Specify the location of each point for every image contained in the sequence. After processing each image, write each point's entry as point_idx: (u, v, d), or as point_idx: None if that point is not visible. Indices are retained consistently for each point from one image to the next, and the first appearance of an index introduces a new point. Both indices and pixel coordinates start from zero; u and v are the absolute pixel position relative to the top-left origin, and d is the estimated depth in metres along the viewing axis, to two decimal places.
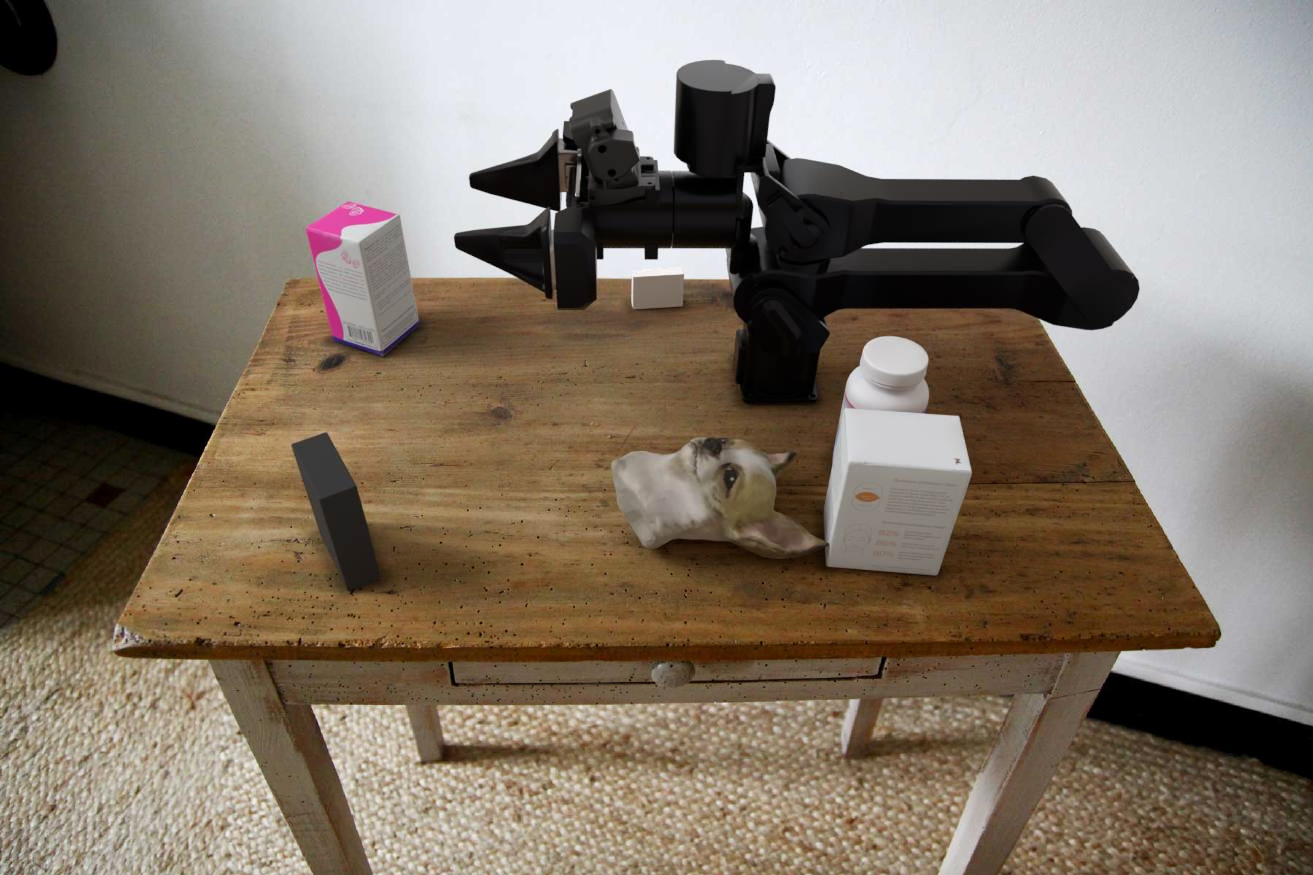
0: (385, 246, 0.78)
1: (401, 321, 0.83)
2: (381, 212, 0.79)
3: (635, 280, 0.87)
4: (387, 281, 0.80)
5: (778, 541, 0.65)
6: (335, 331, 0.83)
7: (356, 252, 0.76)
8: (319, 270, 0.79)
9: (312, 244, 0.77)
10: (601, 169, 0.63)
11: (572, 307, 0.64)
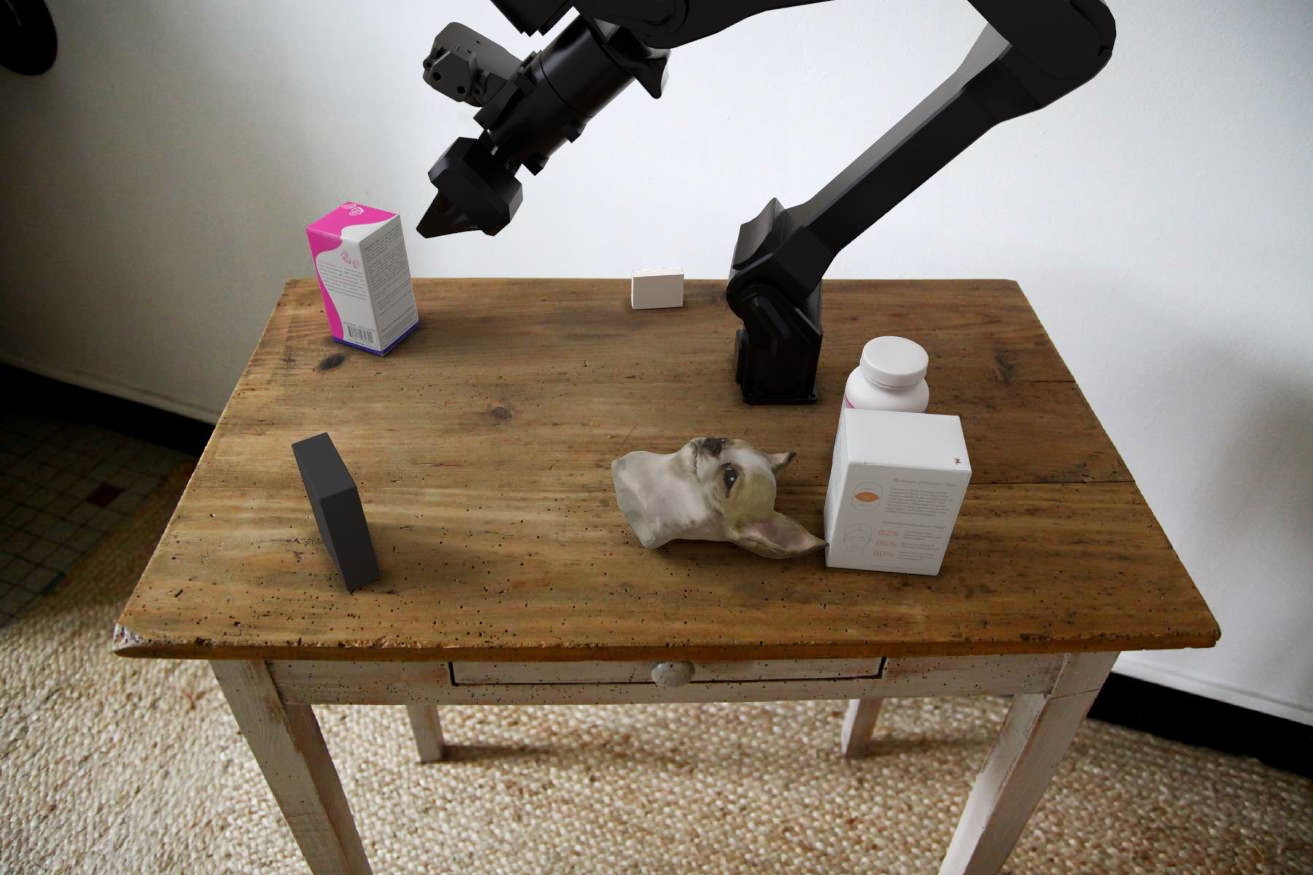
0: (385, 246, 0.78)
1: (401, 321, 0.83)
2: (381, 212, 0.79)
3: (635, 280, 0.87)
4: (387, 281, 0.80)
5: (778, 541, 0.65)
6: (335, 331, 0.83)
7: (356, 252, 0.76)
8: (319, 270, 0.79)
9: (312, 244, 0.77)
10: (451, 93, 0.64)
11: (495, 226, 0.65)
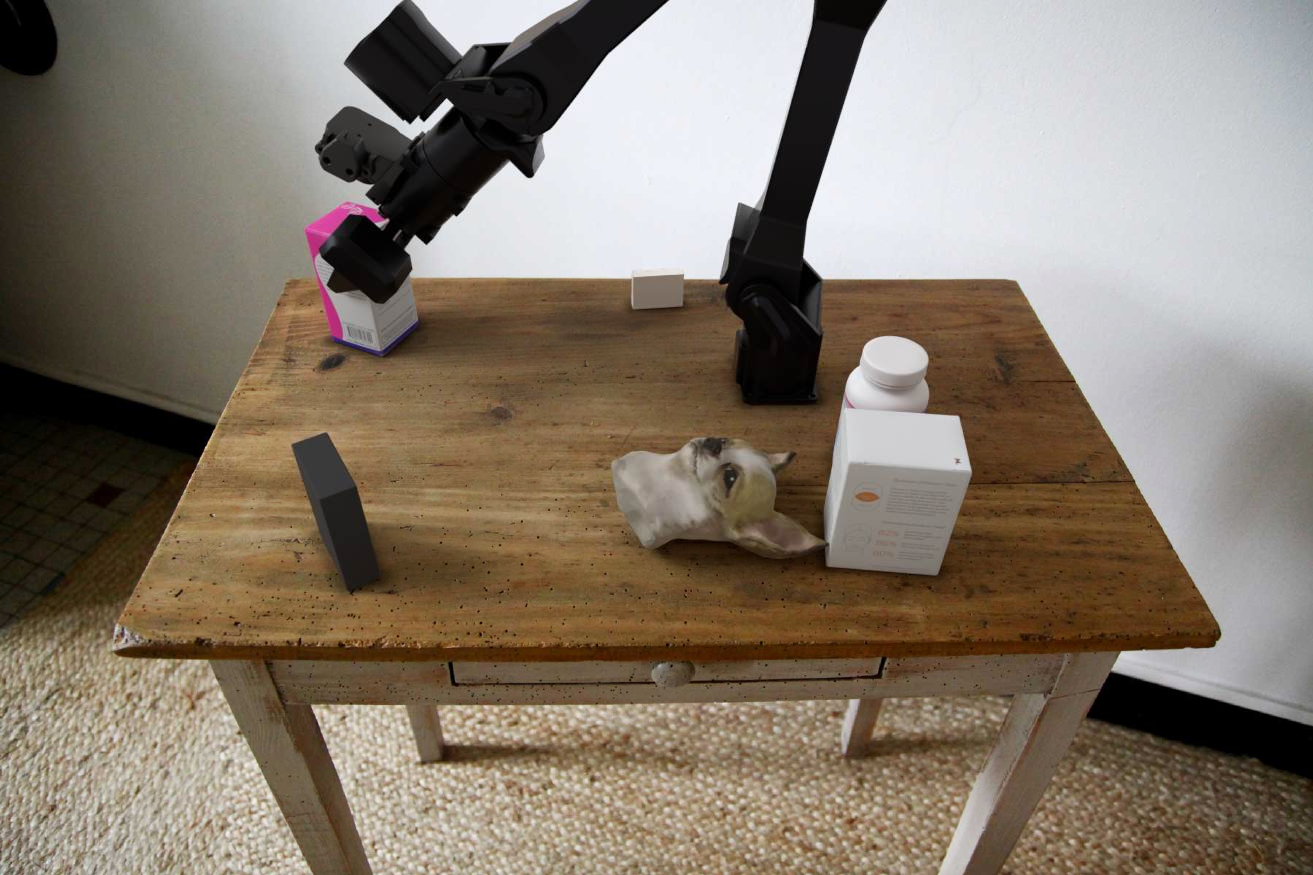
0: None
1: (400, 321, 0.83)
2: None
3: (635, 280, 0.87)
4: None
5: (778, 541, 0.65)
6: (334, 331, 0.83)
7: None
8: (318, 271, 0.79)
9: (311, 244, 0.77)
10: (341, 175, 0.70)
11: (382, 295, 0.71)
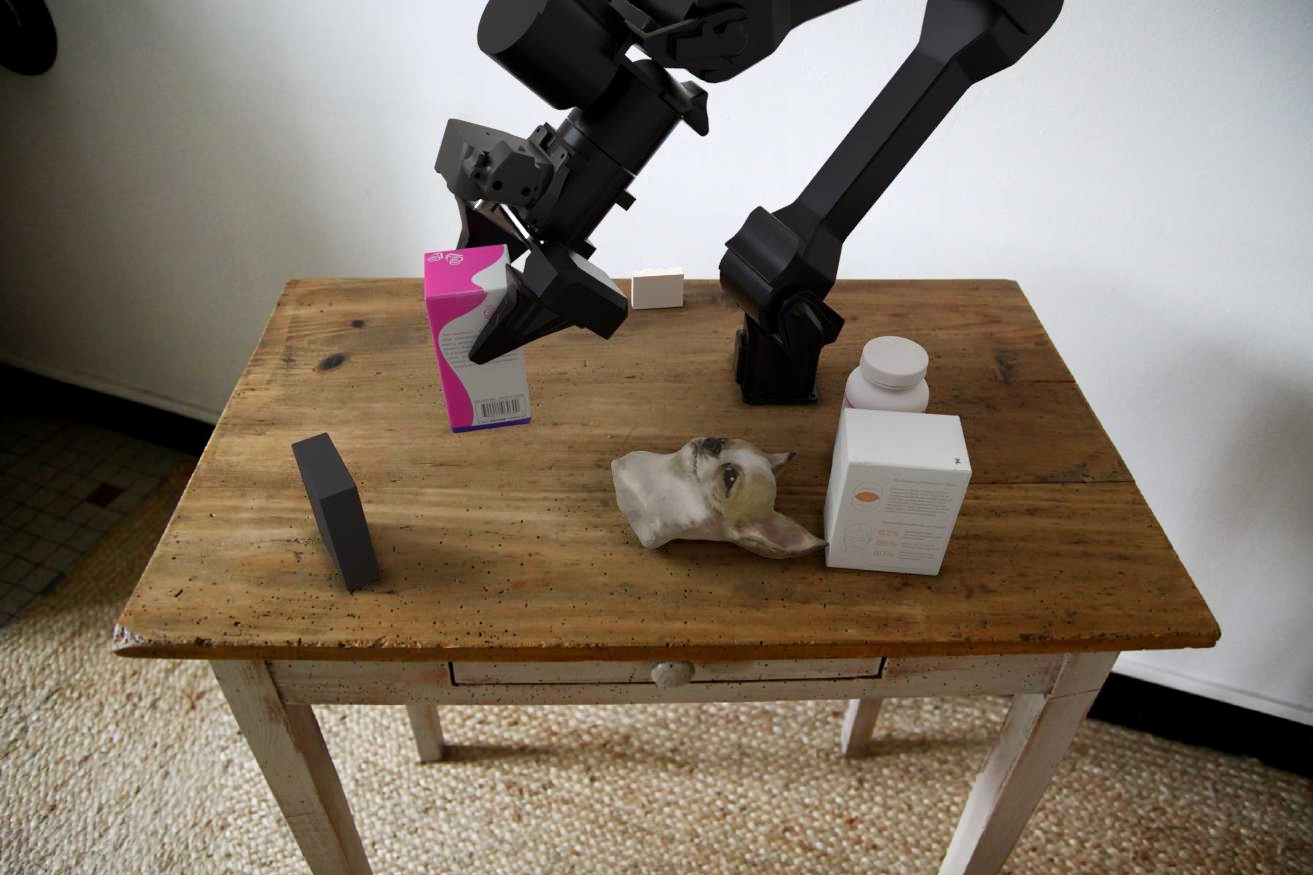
0: None
1: None
2: (483, 249, 0.62)
3: (635, 280, 0.87)
4: None
5: (778, 541, 0.65)
6: (458, 420, 0.64)
7: None
8: (442, 348, 0.60)
9: (435, 315, 0.58)
10: (515, 199, 0.53)
11: (617, 326, 0.56)
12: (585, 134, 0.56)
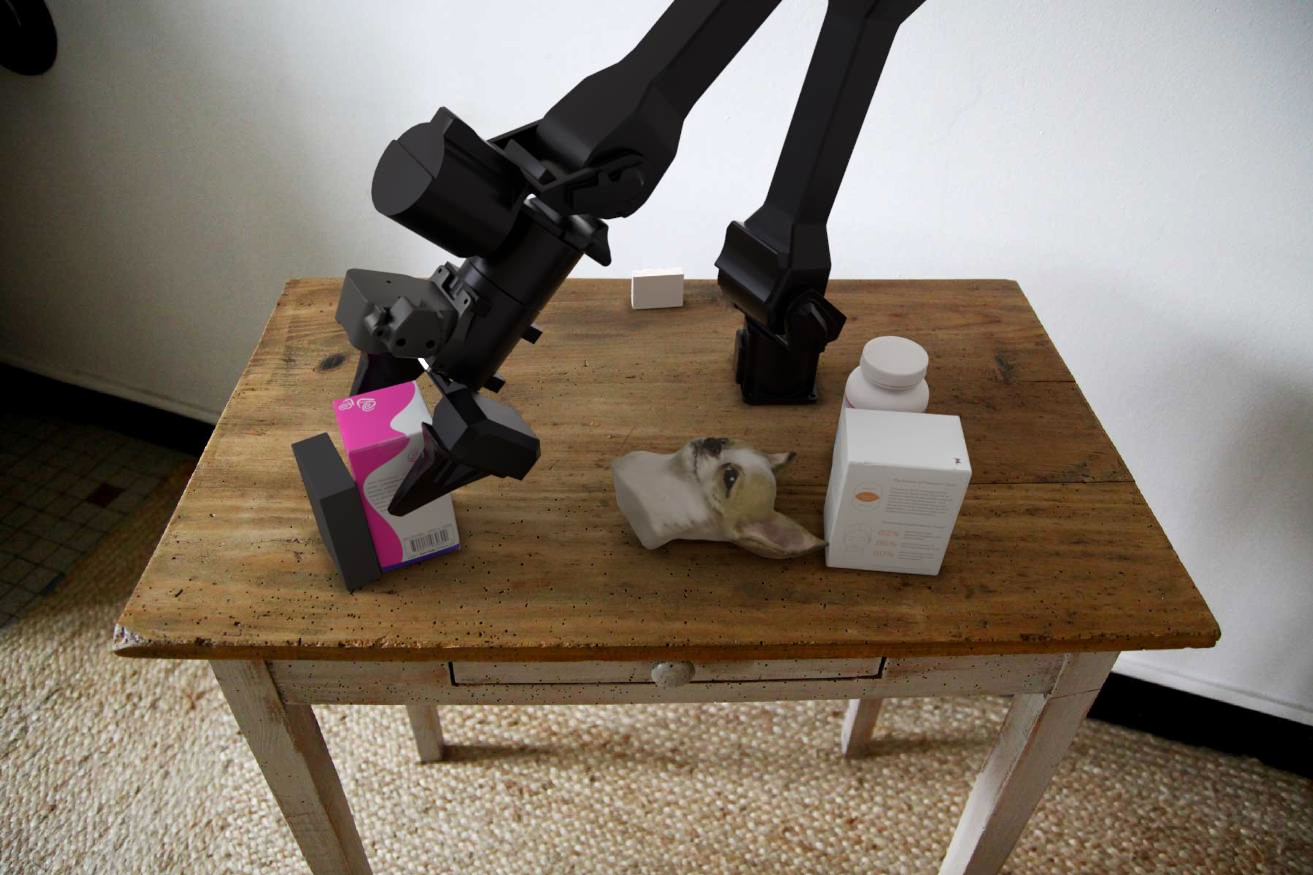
0: None
1: None
2: (394, 389, 0.61)
3: (635, 280, 0.87)
4: None
5: (778, 541, 0.65)
6: (388, 559, 0.64)
7: None
8: (368, 496, 0.60)
9: (358, 467, 0.58)
10: (419, 352, 0.53)
11: (531, 467, 0.56)
12: (487, 277, 0.56)
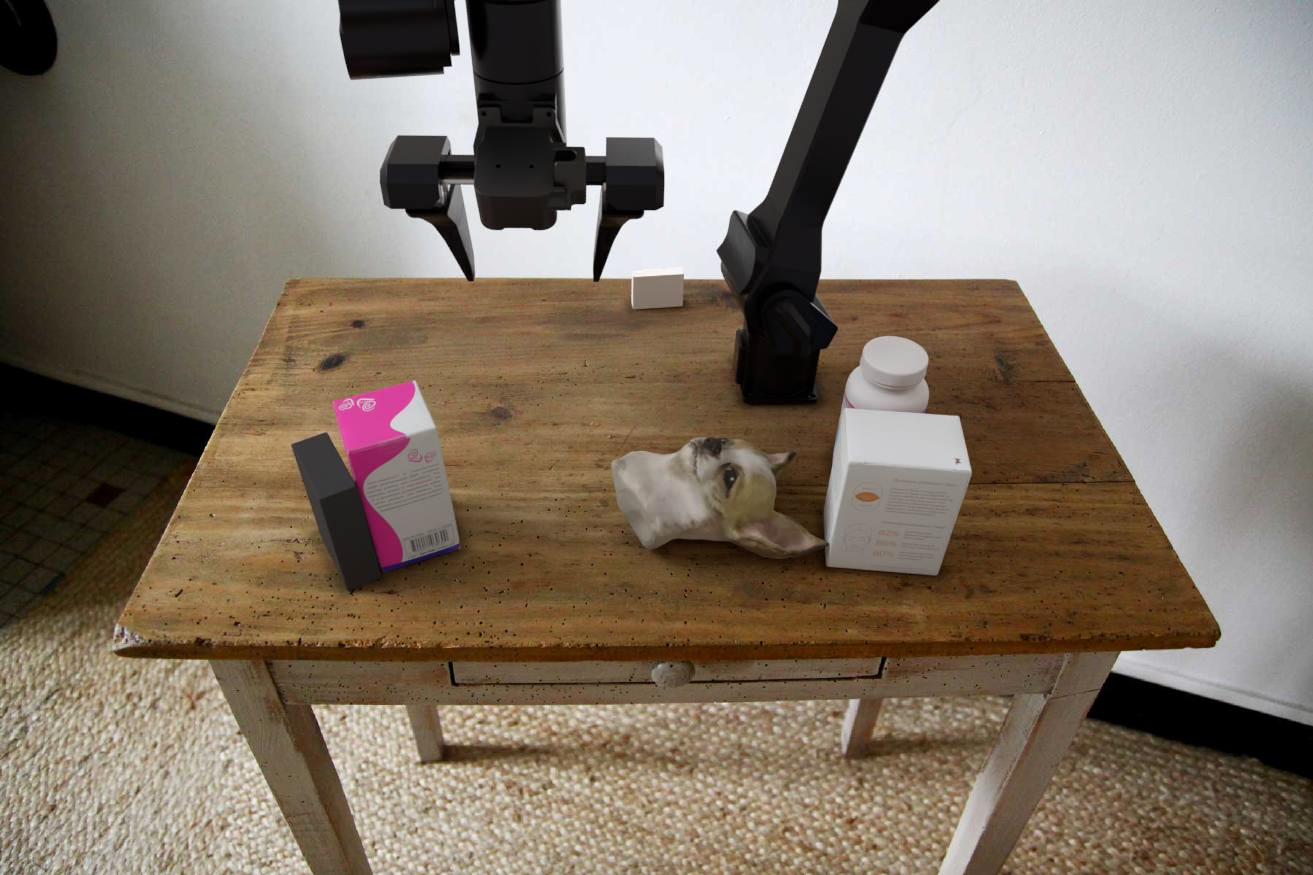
0: None
1: None
2: (394, 389, 0.61)
3: (635, 280, 0.87)
4: None
5: (778, 541, 0.65)
6: (388, 559, 0.64)
7: (431, 442, 0.59)
8: (368, 496, 0.60)
9: (358, 467, 0.58)
10: None
11: None
12: (538, 80, 0.56)
